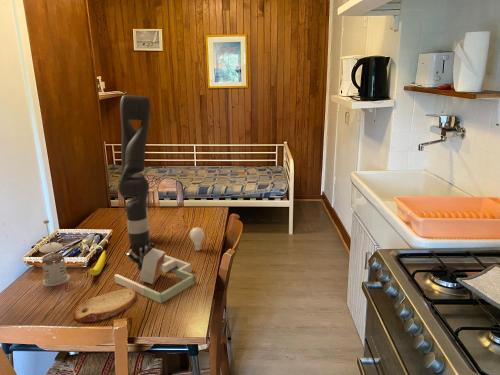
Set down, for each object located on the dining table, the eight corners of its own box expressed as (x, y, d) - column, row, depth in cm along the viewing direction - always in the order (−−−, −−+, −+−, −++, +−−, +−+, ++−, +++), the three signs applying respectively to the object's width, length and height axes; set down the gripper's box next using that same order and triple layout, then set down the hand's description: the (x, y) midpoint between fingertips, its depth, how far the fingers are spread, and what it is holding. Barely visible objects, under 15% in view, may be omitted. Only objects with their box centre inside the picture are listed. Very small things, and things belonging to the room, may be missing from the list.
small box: (152, 284, 145) (157, 261, 142) (138, 280, 145) (143, 256, 142) (161, 274, 152) (165, 251, 149) (148, 270, 153) (152, 247, 150)
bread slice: (140, 292, 140) (139, 283, 139) (125, 323, 123) (123, 312, 122) (91, 293, 140) (89, 284, 139) (69, 324, 123) (67, 313, 122)
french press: (42, 288, 144) (30, 226, 137) (42, 275, 154) (31, 216, 147) (70, 282, 148) (60, 221, 141) (69, 269, 158) (59, 212, 151)
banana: (109, 260, 165) (107, 247, 163) (94, 283, 147) (92, 268, 145) (102, 261, 165) (101, 247, 163) (87, 283, 147) (84, 268, 145)
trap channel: (115, 282, 147) (114, 275, 146) (160, 259, 165) (160, 253, 164) (161, 303, 133) (160, 295, 132) (205, 276, 151) (205, 269, 150)
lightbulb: (207, 248, 175) (206, 226, 172) (201, 254, 170) (199, 231, 167) (194, 246, 177) (193, 224, 174) (188, 252, 172) (186, 229, 169)
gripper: (145, 221, 152) (149, 261, 157) (117, 232, 142) (122, 274, 147) (158, 225, 148) (161, 266, 153) (130, 237, 138) (134, 280, 142)
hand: (142, 270), depth 150 cm, fingers closed
